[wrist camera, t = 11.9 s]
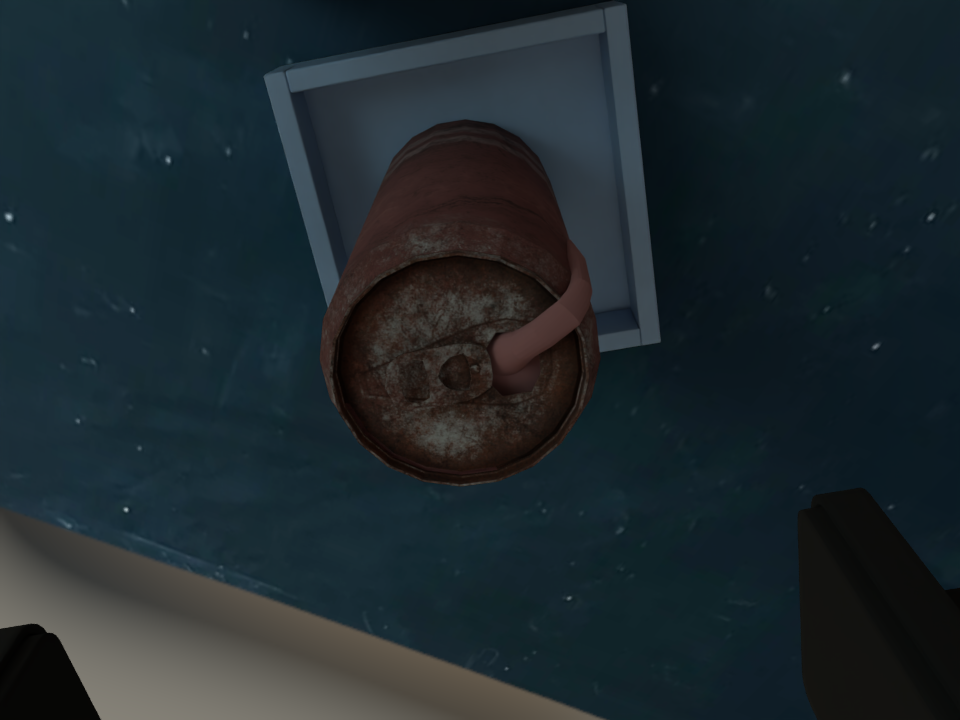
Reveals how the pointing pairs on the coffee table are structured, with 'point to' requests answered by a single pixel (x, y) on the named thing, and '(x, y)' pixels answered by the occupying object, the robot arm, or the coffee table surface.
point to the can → (462, 313)
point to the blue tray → (492, 99)
